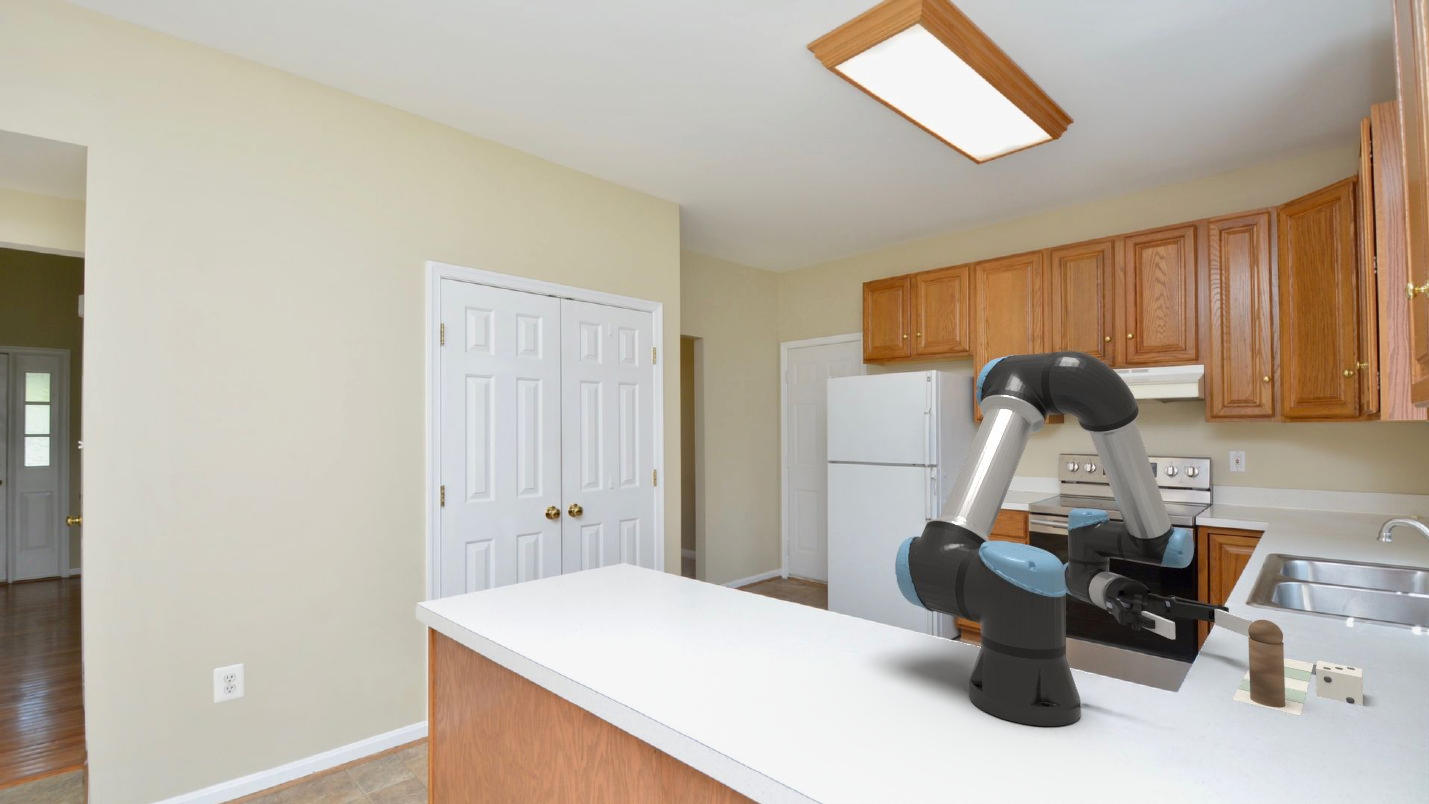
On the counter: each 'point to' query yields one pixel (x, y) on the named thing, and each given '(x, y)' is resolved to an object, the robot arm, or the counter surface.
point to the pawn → (1266, 664)
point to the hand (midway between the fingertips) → (1212, 629)
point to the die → (1339, 682)
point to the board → (1291, 670)
